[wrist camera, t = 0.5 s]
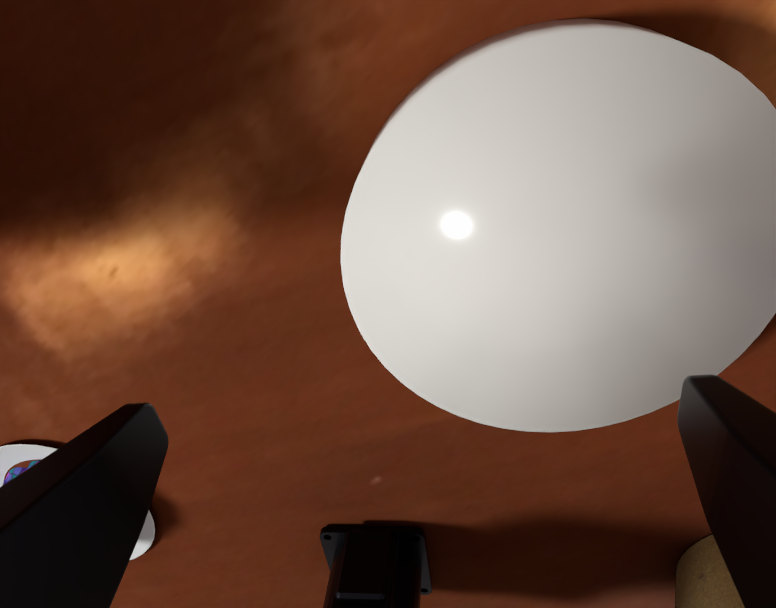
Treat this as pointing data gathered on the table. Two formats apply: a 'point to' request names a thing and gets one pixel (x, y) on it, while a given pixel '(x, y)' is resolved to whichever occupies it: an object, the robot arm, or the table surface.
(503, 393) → the plinth
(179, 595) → the table surface
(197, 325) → the table surface
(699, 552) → the plant pot
